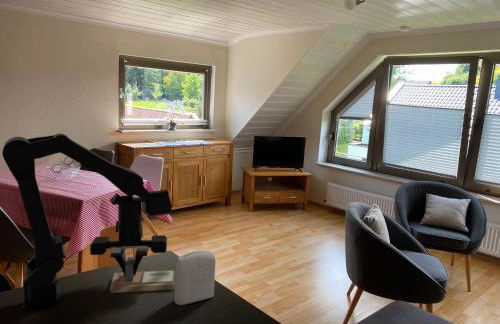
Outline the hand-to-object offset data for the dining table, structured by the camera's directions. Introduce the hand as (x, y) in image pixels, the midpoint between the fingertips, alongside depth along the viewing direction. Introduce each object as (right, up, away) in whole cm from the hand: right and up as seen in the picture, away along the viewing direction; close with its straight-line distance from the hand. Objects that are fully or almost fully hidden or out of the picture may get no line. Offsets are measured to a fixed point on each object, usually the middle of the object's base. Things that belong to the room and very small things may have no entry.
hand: (130, 275), depth 100 cm
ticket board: (+3, -3, +1) cm, 4 cm away
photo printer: (+18, -5, -5) cm, 19 cm away
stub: (0, -1, 0) cm, 1 cm away
